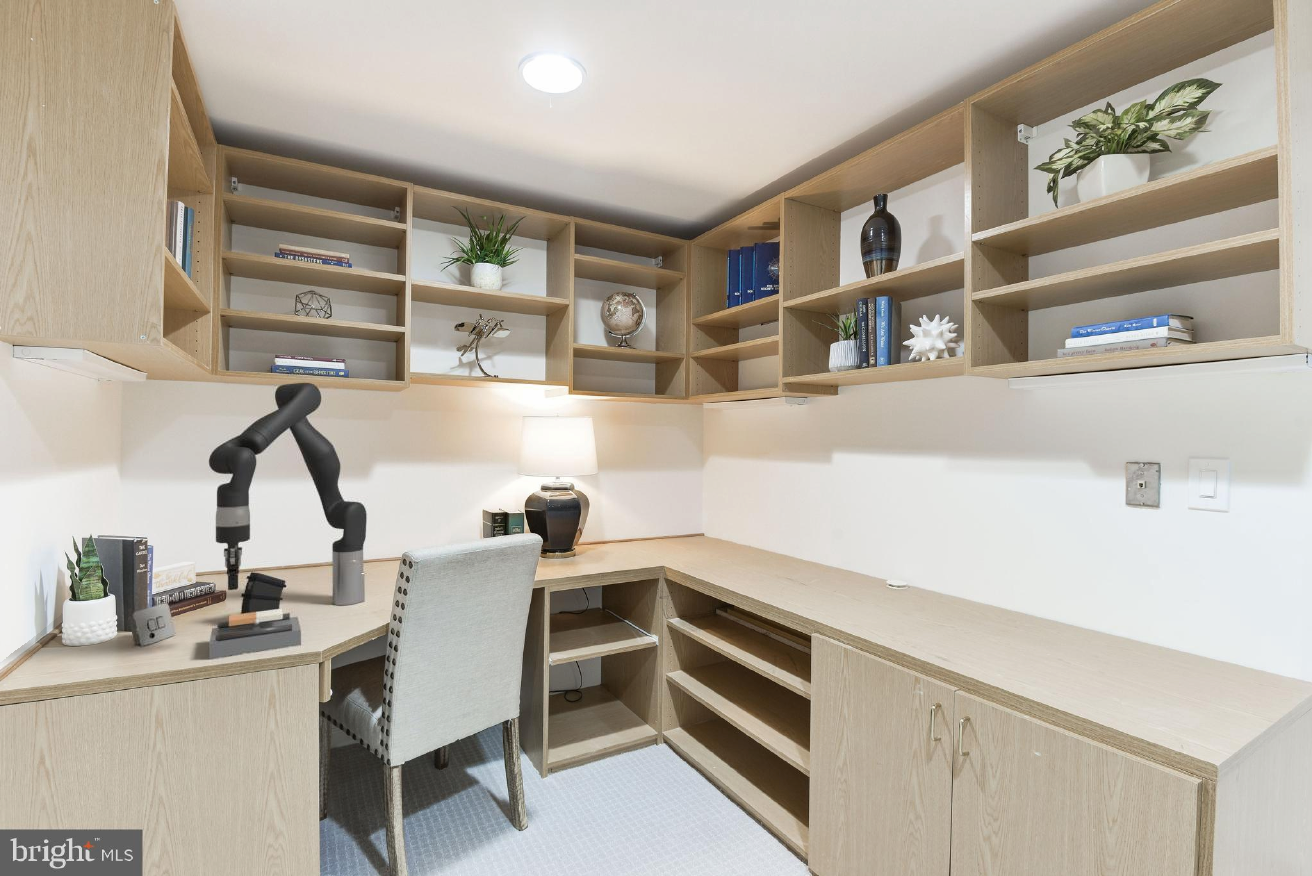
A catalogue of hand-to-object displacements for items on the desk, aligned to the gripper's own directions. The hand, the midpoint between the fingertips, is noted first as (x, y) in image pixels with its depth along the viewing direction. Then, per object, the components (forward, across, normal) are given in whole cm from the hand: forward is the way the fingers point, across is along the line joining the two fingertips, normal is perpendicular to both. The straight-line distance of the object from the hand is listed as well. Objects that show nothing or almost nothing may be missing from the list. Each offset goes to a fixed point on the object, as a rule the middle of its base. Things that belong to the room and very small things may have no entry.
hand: (233, 589), depth 168 cm
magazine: (+16, +23, -7) cm, 29 cm away
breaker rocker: (+9, 0, -5) cm, 10 cm away
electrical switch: (+16, +18, +19) cm, 30 cm away
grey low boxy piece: (+15, 0, -5) cm, 16 cm away
